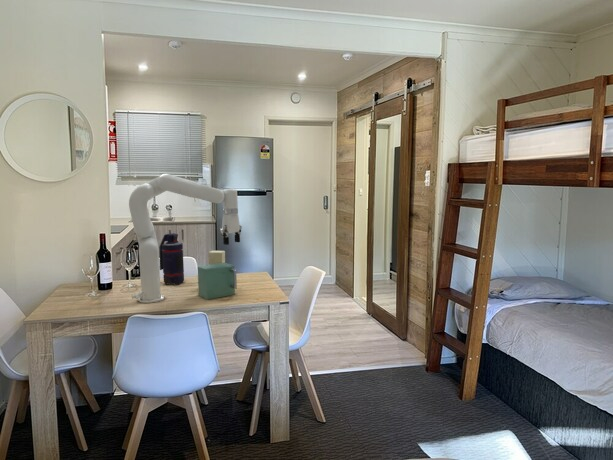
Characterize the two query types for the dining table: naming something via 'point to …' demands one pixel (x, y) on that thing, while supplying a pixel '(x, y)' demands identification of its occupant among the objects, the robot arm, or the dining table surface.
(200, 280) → the cooler
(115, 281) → the dining table surface
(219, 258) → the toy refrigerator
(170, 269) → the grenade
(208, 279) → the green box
